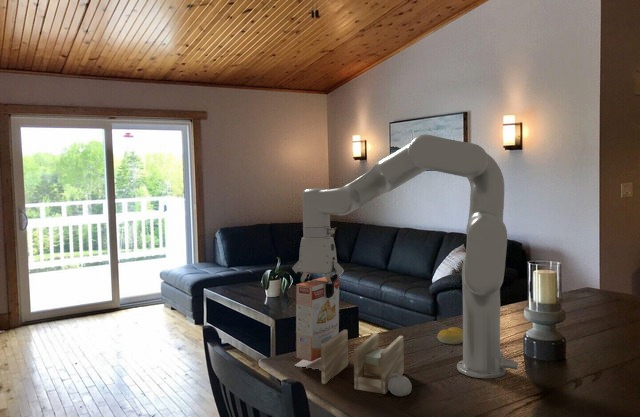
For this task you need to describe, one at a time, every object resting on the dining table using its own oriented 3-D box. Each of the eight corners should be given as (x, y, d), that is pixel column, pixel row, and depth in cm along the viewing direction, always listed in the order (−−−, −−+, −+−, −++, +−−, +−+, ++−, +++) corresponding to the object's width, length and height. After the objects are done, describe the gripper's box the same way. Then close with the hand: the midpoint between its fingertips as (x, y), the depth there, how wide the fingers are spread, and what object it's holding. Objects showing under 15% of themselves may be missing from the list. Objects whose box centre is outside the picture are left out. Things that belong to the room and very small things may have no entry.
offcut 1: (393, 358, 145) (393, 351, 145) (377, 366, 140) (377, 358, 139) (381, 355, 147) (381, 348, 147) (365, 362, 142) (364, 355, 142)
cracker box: (313, 362, 151) (312, 286, 150) (295, 358, 154) (294, 283, 153) (340, 349, 163) (340, 277, 161) (323, 345, 166) (322, 275, 165)
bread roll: (432, 340, 177) (432, 327, 177) (453, 335, 181) (453, 323, 181) (450, 347, 170) (450, 334, 169) (472, 341, 174) (472, 329, 174)
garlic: (383, 396, 134) (382, 374, 134) (393, 388, 139) (392, 367, 138) (406, 401, 131) (405, 379, 130) (415, 393, 135) (415, 372, 135)
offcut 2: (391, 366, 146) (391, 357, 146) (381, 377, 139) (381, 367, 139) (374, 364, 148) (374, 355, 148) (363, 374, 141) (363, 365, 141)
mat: (344, 357, 162) (344, 356, 162) (326, 371, 151) (326, 370, 151) (313, 353, 166) (313, 352, 166) (294, 366, 156) (294, 365, 156)
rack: (403, 373, 149) (403, 336, 148) (385, 393, 135) (384, 353, 134) (344, 364, 156) (344, 329, 155) (321, 383, 143) (320, 345, 142)
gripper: (350, 232, 156) (351, 295, 157) (295, 230, 163) (297, 291, 165) (339, 235, 149) (341, 301, 150) (283, 233, 157) (284, 296, 158)
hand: (318, 295), depth 157 cm, fingers closed on cracker box, 6 cm apart
